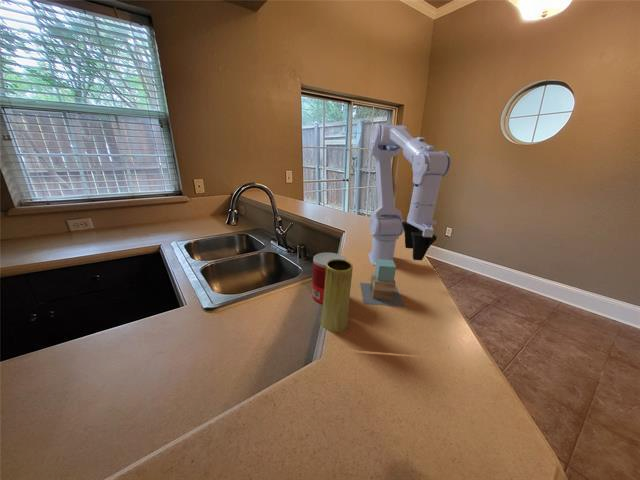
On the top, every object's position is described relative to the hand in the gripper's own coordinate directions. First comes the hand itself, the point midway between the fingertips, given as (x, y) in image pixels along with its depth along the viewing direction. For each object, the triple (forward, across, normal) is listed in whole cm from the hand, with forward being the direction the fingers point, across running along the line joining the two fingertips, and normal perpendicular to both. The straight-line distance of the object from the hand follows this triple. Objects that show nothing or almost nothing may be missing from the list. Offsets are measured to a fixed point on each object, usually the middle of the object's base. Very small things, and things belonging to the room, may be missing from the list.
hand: (413, 253), depth 66 cm
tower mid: (+7, -5, +8) cm, 12 cm away
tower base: (+10, -5, +8) cm, 14 cm away
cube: (+5, -5, +8) cm, 11 cm away
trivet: (+10, -5, +8) cm, 14 cm away
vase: (+10, -18, +20) cm, 29 cm away
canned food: (+11, -8, +22) cm, 26 cm away
